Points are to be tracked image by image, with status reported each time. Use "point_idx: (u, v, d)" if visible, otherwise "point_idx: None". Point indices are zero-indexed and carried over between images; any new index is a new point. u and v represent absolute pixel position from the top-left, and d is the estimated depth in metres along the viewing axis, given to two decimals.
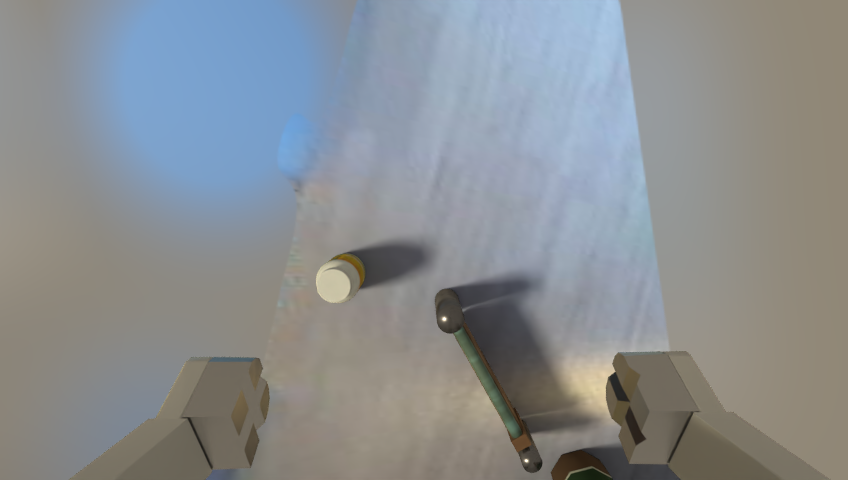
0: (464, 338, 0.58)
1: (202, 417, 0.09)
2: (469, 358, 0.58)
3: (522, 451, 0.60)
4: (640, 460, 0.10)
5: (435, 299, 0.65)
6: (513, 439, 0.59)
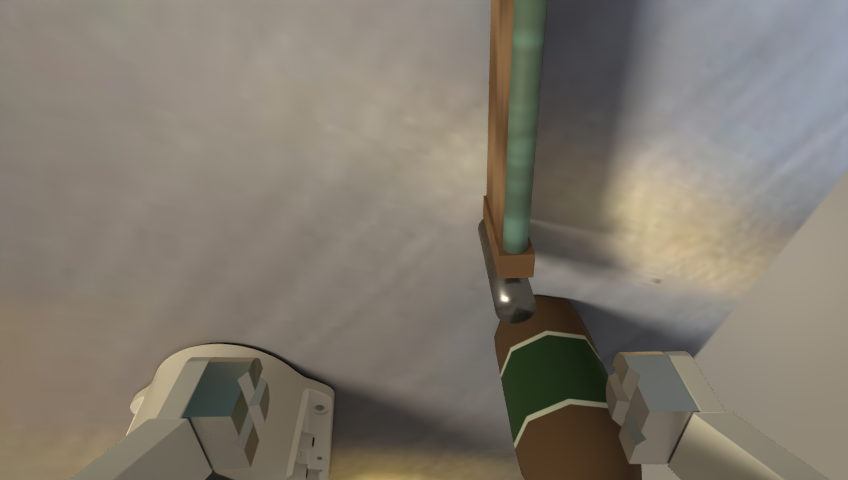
0: None
1: (202, 417, 0.09)
2: (520, 32, 0.21)
3: None
4: (641, 460, 0.10)
5: None
6: (505, 254, 0.27)
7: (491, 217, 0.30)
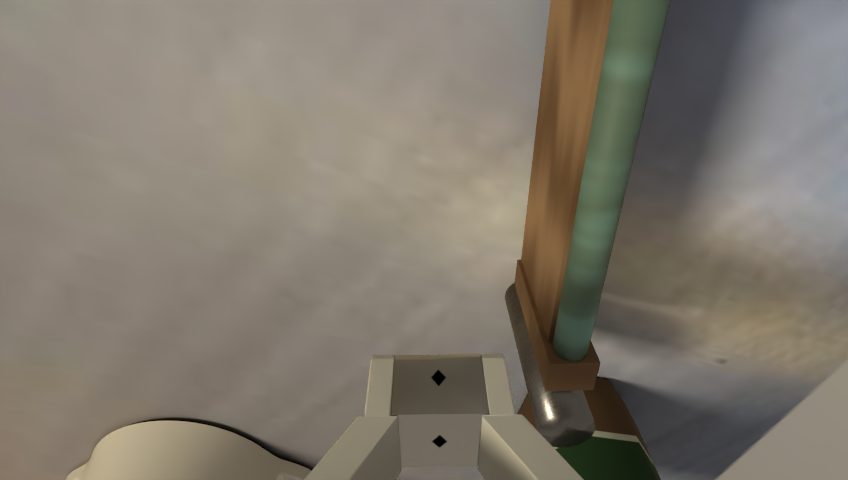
0: None
1: (409, 414, 0.09)
2: (620, 55, 0.13)
3: None
4: (450, 462, 0.10)
5: None
6: (557, 360, 0.19)
7: (531, 295, 0.23)
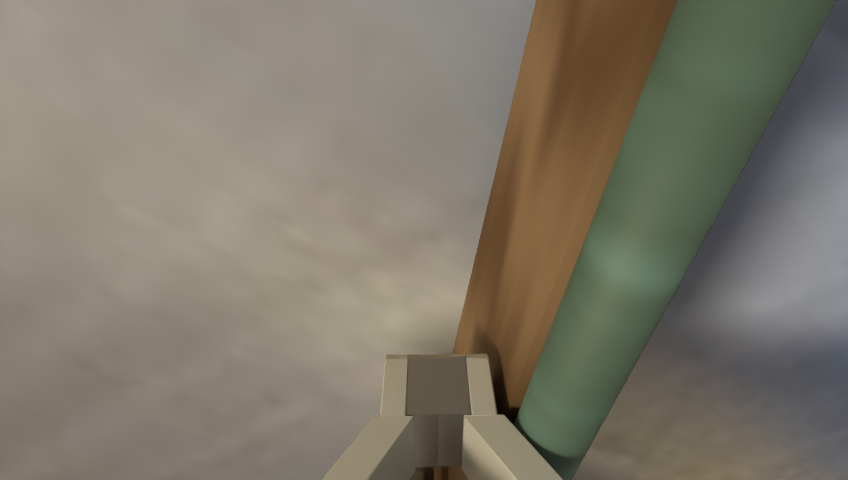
0: (787, 53, 0.05)
1: (425, 414, 0.09)
2: (625, 245, 0.06)
3: None
4: (434, 462, 0.10)
5: None
6: None
7: None
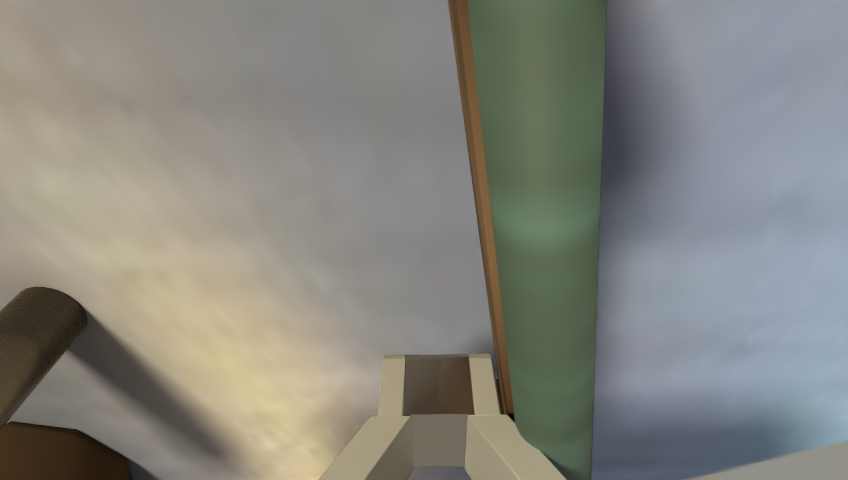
0: None
1: (422, 414, 0.09)
2: (510, 199, 0.06)
3: None
4: (436, 462, 0.10)
5: None
6: None
7: None
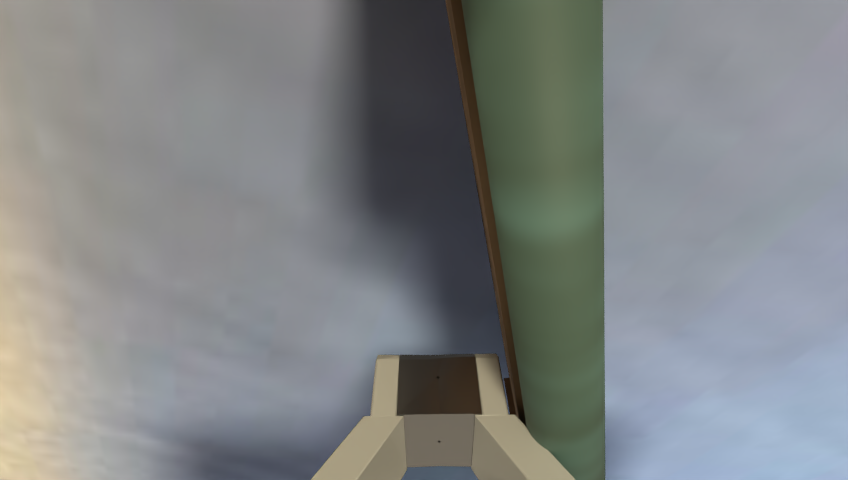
0: None
1: (415, 414, 0.09)
2: (511, 193, 0.06)
3: None
4: (443, 462, 0.10)
5: None
6: None
7: None
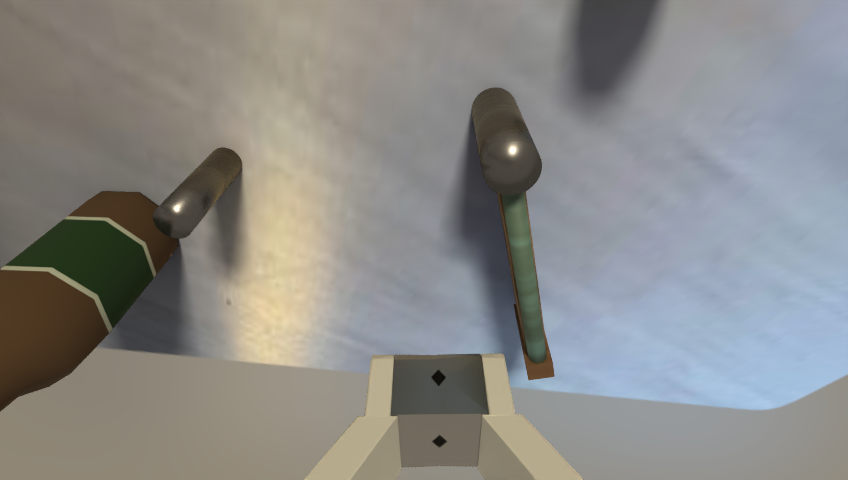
0: (518, 204, 0.29)
1: (409, 414, 0.09)
2: (512, 238, 0.31)
3: (195, 200, 0.31)
4: (450, 462, 0.10)
5: (509, 95, 0.33)
6: (530, 364, 0.37)
7: (519, 327, 0.40)
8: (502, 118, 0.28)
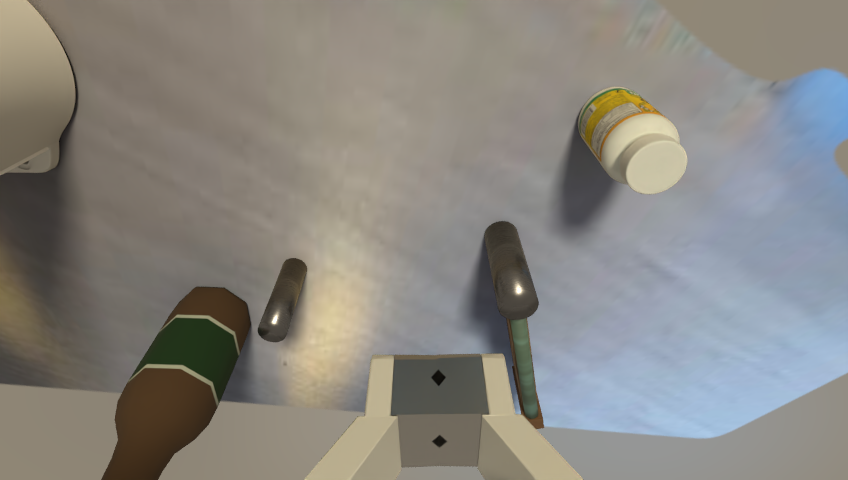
0: None
1: (409, 414, 0.09)
2: (515, 339, 0.43)
3: (286, 313, 0.42)
4: (450, 462, 0.10)
5: (513, 230, 0.45)
6: None
7: (517, 387, 0.53)
8: (510, 262, 0.40)
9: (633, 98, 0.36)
